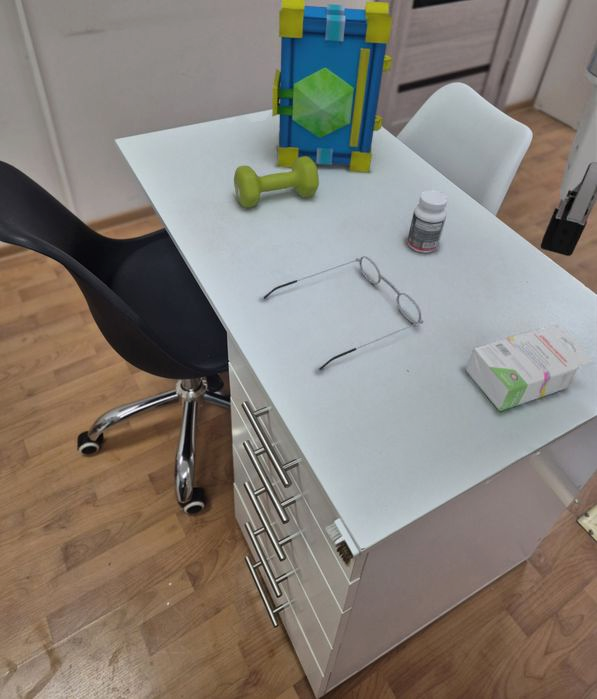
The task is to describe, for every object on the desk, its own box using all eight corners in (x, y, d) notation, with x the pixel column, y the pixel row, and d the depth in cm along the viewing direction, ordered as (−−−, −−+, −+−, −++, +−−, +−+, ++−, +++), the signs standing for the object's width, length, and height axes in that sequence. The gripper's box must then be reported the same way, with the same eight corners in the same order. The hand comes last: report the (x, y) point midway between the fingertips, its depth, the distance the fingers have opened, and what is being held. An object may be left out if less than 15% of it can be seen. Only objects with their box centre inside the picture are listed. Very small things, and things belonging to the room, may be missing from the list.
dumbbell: (243, 215, 105) (242, 181, 100) (231, 194, 110) (229, 161, 105) (321, 201, 110) (324, 168, 105) (305, 182, 115) (308, 149, 110)
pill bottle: (413, 232, 104) (425, 185, 97) (442, 242, 102) (455, 194, 95) (402, 247, 100) (412, 199, 93) (430, 257, 99) (444, 209, 91)
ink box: (499, 413, 74) (583, 385, 79) (510, 390, 71) (598, 362, 75) (463, 369, 80) (544, 345, 84) (472, 345, 76) (556, 321, 80)
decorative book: (275, 141, 127) (278, -8, 106) (373, 148, 127) (396, 0, 106) (271, 172, 117) (272, 13, 96) (377, 178, 118) (403, 22, 96)
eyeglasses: (423, 330, 85) (428, 311, 82) (320, 374, 78) (321, 355, 75) (358, 266, 96) (361, 248, 93) (263, 300, 89) (262, 281, 86)
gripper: (692, 102, 39) (586, 299, 52) (686, 46, 49) (598, 224, 62) (582, 82, 41) (507, 276, 54) (598, 32, 51) (531, 207, 64)
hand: (556, 248), depth 58 cm, fingers closed
